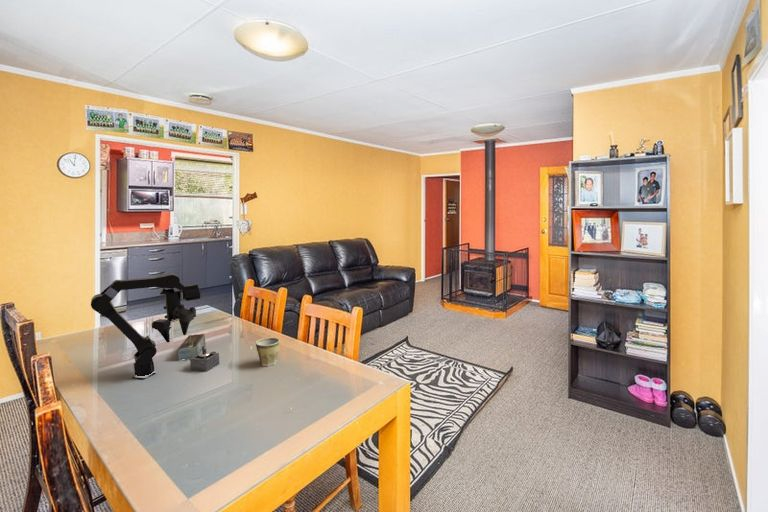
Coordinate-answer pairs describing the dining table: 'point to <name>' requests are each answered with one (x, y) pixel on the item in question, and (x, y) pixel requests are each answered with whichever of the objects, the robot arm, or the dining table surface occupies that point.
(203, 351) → the plunger
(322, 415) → the dining table surface
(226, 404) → the dining table surface
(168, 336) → the robot arm
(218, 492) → the dining table surface
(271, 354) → the ceramic cup
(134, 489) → the dining table surface
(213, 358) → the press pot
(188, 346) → the beverage carton
